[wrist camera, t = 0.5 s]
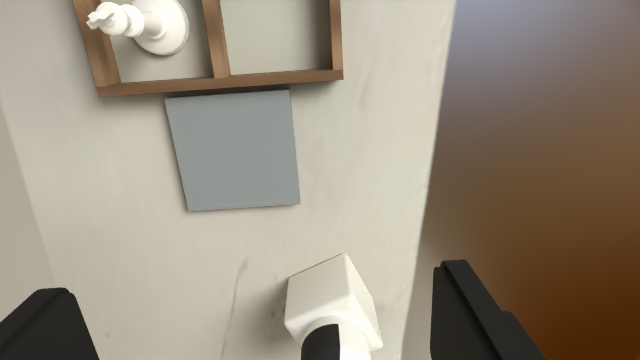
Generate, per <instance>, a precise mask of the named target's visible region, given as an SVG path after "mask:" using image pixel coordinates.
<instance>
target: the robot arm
mask: <svg viewBox="0 0 640 360" xmlns="http://www.w3.org/2000/svg"><path fill="white" fill-rule="evenodd" d="M430 353H431V358H432V360H546V359H545V357H544V356H543V355H542V353H541V352H540V350H539V349H538V348H537V346H536V345H535V344H534V342H533V341H532V340H531V338H530V337H529V335H528V334H527V333H526V331H525V330H524V329H523V327H522V326H521V324H520V323H519V322H518V320H517V319H516V318H515V316H514V315H513V314H512V313H510V312H509V311H501V310H500V308H499V307H498V305H497V304H496V302H495V301H494V299H493V298H492V297H491V295H490V294H489V292H488V291H487V289H486V288H485V287H484V285H483V284H482V282H481V281H480V279H479V278H478V276H477V275H476V273H475V272H474V271H473V269H472V268H471V266H470V265H469V263H468V262H467V261H466V260H464V259H463V260H448V261H442V262H441V266H440V267H435V268H434V274H433V295H432V316H431V337H430ZM0 360H99V357H98V355H97V352H96V350H95V347H94V344H93V342H92V339H91V336H90V334H89V331H88V329H87V326H86V323H85V321H84V318H83V316H82V313H81V310H80V308H79V305H78V303H77V300H76V297H75V296H74V294H72V293H70V292H69V291H68V290H67V289H66V288H48V289H40V290H37V291H36V292H34V293H33V294H32V295H30V296H29V297H28V298H27V299H26V300H25V301H24V302H23V303H22V304H21V305H20V306H18V307H17V308H16V309H15V310H14V311H13V312H12V313H11V314H9V315H8V316H7V317H6V318H5V319H4V320H3V321H1V322H0Z"/></svg>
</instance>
